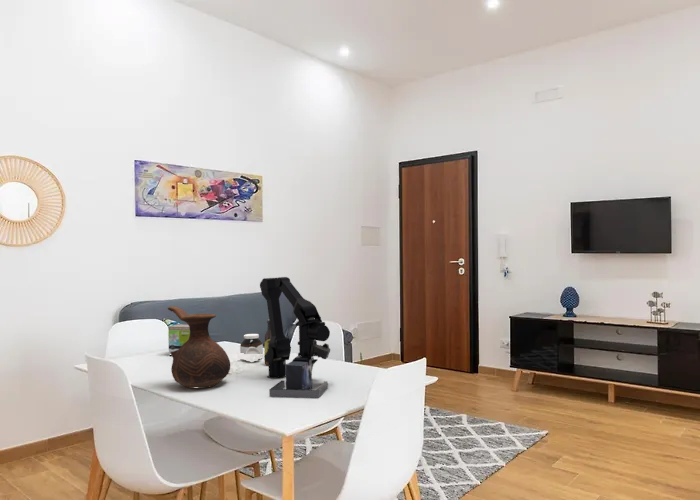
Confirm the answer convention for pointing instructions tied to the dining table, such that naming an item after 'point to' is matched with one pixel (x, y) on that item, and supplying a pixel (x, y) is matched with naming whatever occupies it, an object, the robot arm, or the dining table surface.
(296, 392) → the guide rails
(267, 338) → the sauce bottle
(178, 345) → the tea box
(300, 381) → the small box
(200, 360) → the jug
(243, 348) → the spread jar
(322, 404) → the dining table surface
